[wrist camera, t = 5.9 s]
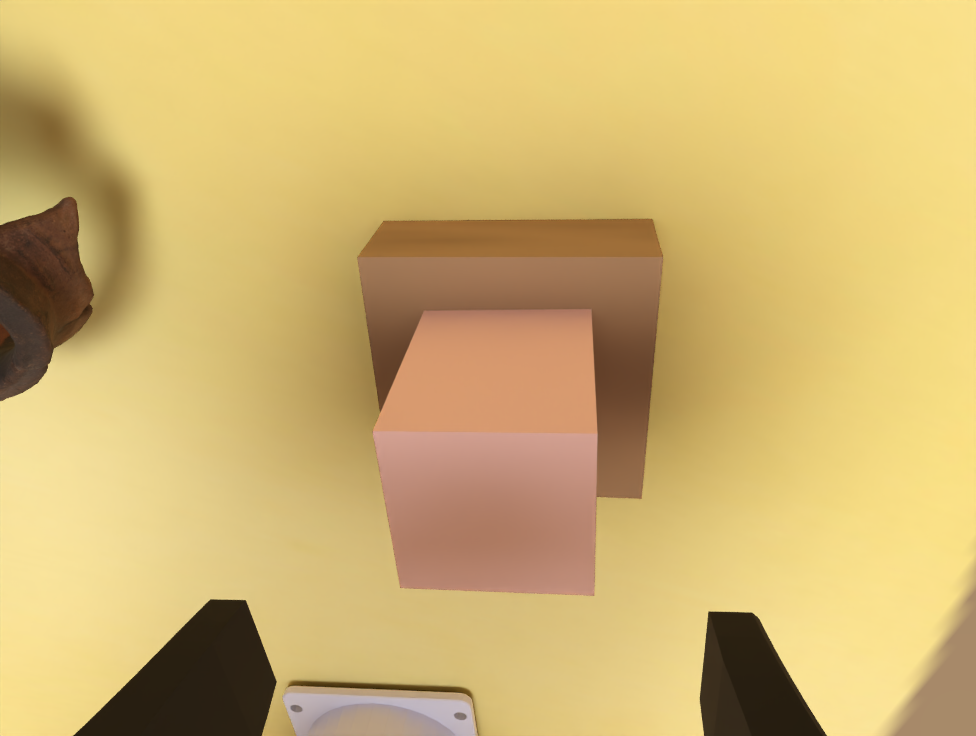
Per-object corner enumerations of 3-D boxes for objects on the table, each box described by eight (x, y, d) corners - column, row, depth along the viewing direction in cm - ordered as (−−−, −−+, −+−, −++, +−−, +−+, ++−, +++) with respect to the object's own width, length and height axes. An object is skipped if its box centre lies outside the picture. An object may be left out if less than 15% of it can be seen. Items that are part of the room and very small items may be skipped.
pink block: (589, 446, 18) (594, 595, 14) (439, 444, 19) (400, 587, 14) (591, 308, 16) (597, 433, 12) (424, 310, 17) (372, 431, 12)
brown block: (633, 434, 22) (641, 498, 19) (412, 427, 22) (391, 488, 20) (650, 214, 18) (662, 257, 15) (387, 216, 19) (357, 257, 16)
